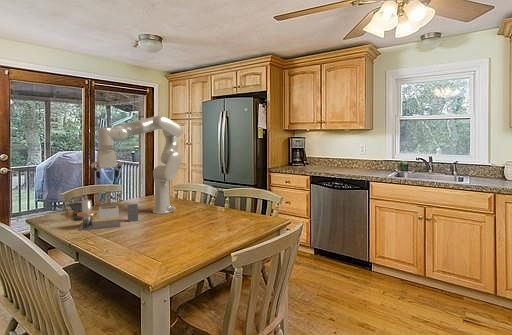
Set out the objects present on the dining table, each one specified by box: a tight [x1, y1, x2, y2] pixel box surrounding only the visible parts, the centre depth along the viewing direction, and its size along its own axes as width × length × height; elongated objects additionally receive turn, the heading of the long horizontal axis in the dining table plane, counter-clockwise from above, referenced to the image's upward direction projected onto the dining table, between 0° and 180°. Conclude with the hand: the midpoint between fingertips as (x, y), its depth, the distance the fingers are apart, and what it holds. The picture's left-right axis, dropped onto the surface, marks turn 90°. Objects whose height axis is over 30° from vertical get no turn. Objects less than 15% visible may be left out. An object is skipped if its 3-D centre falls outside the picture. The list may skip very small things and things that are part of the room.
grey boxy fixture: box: [77, 199, 121, 232], centre depth 177 cm, size 22×13×15 cm, turn 116°
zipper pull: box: [68, 202, 83, 222], centre depth 198 cm, size 9×7×25 cm
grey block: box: [126, 203, 139, 223], centre depth 188 cm, size 6×3×10 cm, turn 116°
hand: (107, 177), depth 184 cm, fingers open, 9 cm apart
